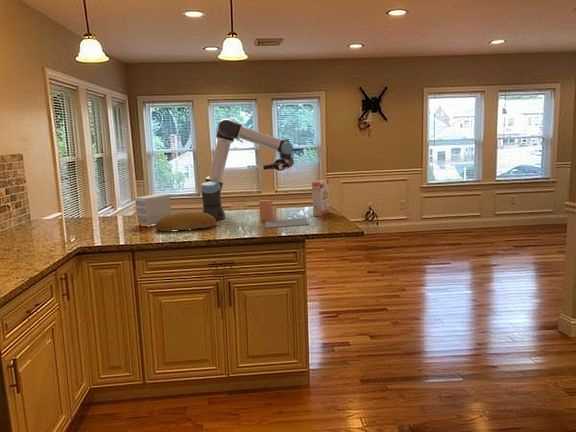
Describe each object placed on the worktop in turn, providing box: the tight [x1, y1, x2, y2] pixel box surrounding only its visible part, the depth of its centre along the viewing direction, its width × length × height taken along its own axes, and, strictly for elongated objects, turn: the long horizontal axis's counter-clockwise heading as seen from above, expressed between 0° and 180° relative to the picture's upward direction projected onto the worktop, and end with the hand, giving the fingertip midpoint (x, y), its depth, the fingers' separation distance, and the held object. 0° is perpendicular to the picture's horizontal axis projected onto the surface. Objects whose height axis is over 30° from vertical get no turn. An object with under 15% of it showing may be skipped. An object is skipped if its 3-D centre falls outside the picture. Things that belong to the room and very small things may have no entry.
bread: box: [154, 211, 217, 232], centre depth 275 cm, size 18×35×10 cm, turn 92°
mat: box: [264, 217, 310, 229], centre depth 270 cm, size 24×19×1 cm
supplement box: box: [134, 193, 173, 225], centre depth 295 cm, size 17×13×18 cm
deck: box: [258, 199, 274, 222], centre depth 284 cm, size 4×7×12 cm, turn 73°
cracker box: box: [311, 179, 331, 217], centre depth 290 cm, size 14×6×21 cm, turn 154°
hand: (268, 168), depth 285 cm, fingers open, 13 cm apart
